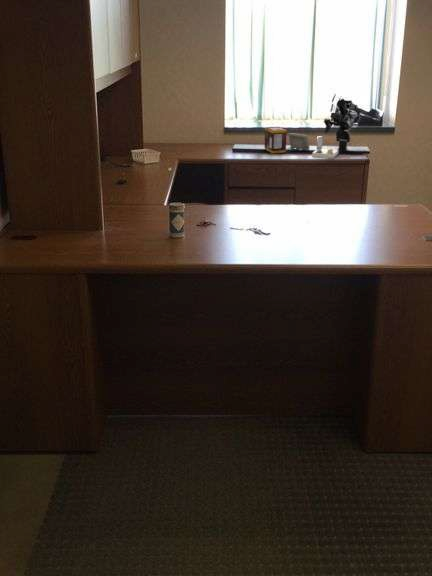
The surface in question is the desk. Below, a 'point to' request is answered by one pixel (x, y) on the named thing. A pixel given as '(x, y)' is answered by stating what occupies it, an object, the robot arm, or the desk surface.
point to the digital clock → (298, 141)
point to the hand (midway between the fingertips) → (330, 134)
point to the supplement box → (275, 139)
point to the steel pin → (319, 144)
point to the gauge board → (325, 153)
